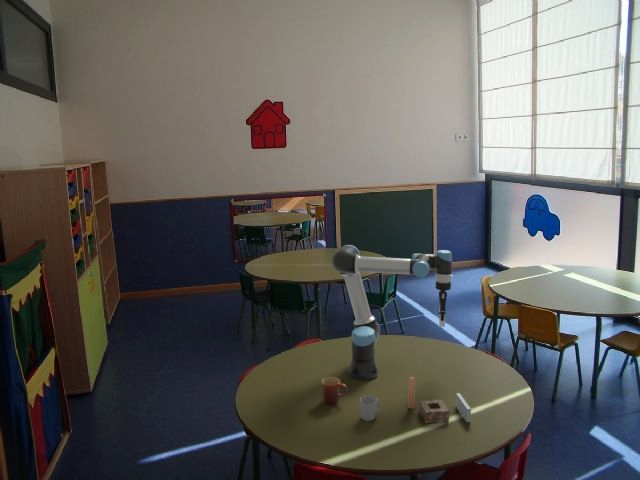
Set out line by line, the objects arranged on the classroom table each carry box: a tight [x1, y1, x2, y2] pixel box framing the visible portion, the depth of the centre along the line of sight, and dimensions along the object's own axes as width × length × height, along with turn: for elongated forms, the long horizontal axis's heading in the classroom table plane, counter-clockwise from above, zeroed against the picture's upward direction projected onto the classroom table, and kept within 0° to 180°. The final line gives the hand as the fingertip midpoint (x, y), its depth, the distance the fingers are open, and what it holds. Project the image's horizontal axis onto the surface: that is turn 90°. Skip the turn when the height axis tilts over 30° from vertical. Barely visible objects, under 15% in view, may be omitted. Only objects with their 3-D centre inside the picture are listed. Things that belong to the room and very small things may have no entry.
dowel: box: [407, 376, 416, 410], centre depth 243 cm, size 3×3×14 cm
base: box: [455, 392, 472, 423], centre depth 237 cm, size 2×14×6 cm, turn 5°
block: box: [419, 399, 450, 424], centre depth 236 cm, size 10×10×5 cm
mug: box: [320, 376, 348, 406], centre depth 250 cm, size 12×9×10 cm
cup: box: [359, 395, 381, 422], centre depth 237 cm, size 8×10×8 cm
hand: (441, 321), depth 278 cm, fingers open, 13 cm apart
